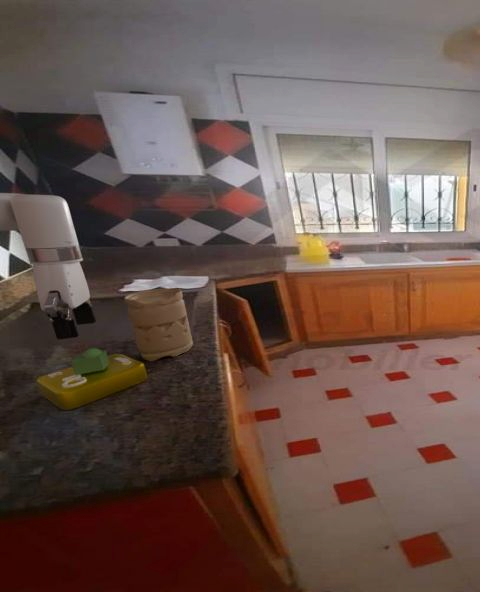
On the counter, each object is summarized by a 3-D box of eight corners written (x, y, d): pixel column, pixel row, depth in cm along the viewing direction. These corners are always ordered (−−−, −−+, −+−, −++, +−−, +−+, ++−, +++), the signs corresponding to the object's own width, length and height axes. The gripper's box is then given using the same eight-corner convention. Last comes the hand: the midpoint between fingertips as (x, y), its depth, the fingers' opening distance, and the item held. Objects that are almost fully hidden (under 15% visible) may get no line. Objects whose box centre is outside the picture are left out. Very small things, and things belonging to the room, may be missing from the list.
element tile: (151, 379, 79) (146, 362, 77) (65, 413, 66) (58, 393, 64) (122, 366, 85) (118, 350, 84) (39, 395, 72) (32, 376, 71)
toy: (75, 375, 71) (68, 355, 70) (82, 367, 75) (76, 348, 73) (103, 369, 74) (97, 350, 72) (109, 362, 77) (104, 344, 76)
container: (198, 350, 95) (186, 293, 90) (144, 365, 86) (127, 302, 81) (187, 339, 103) (175, 286, 98) (136, 352, 94) (120, 294, 89)
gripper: (50, 251, 72) (71, 321, 77) (3, 262, 58) (33, 348, 63) (95, 249, 76) (112, 316, 81) (61, 260, 62) (85, 341, 66)
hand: (78, 330), depth 72 cm, fingers open, 9 cm apart
